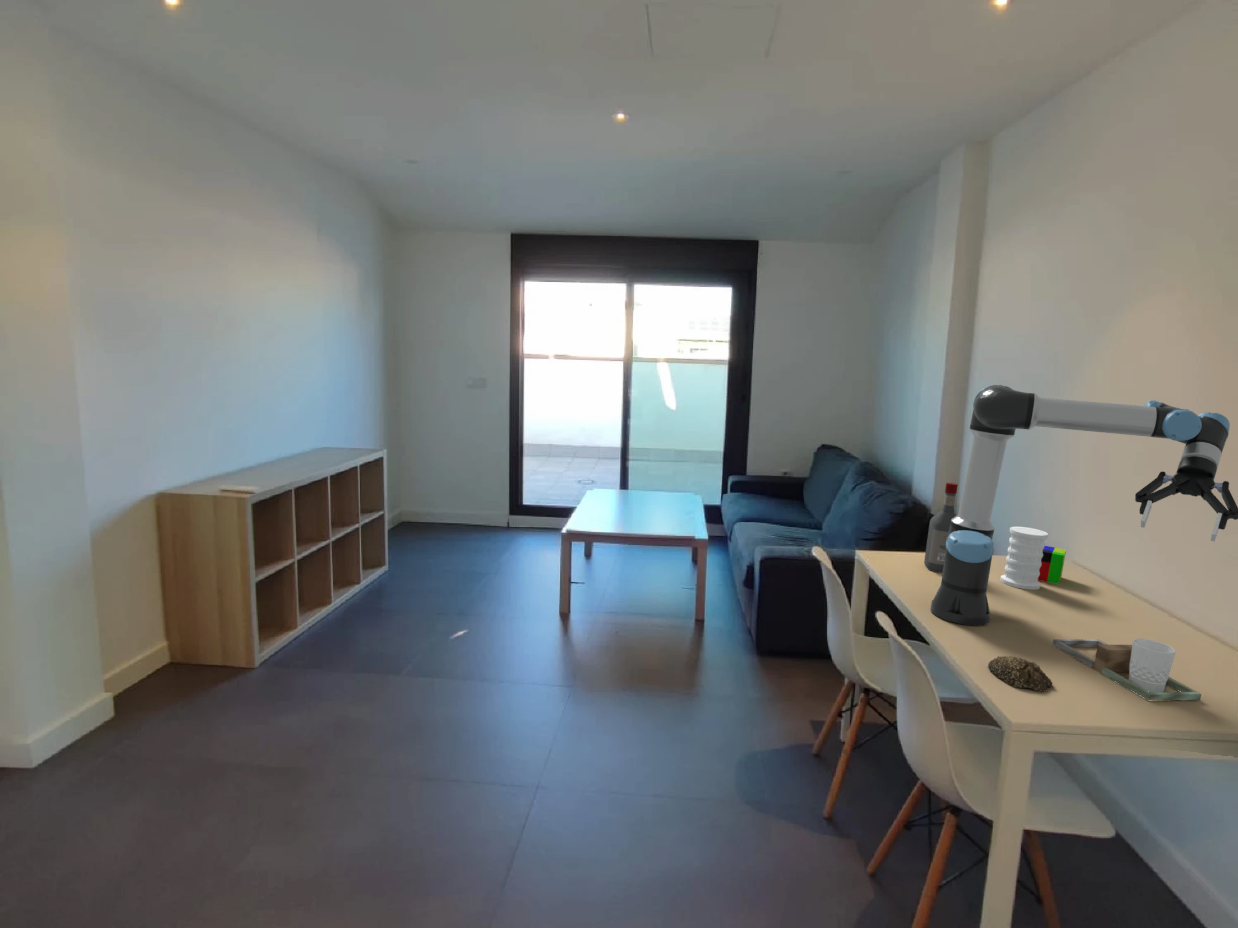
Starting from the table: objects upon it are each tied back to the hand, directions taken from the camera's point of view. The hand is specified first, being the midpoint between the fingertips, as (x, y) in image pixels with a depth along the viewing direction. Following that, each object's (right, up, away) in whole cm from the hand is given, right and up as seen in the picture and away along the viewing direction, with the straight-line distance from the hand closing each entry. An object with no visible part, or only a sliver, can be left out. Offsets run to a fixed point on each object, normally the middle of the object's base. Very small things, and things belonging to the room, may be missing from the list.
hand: (1176, 530), depth 171 cm
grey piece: (-13, -34, 0) cm, 36 cm away
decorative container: (-2, -24, +64) cm, 68 cm away
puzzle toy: (+11, -23, +72) cm, 77 cm away
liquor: (-24, -20, +74) cm, 81 cm away
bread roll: (-42, -34, -7) cm, 54 cm away
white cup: (-13, -35, -7) cm, 38 cm away
